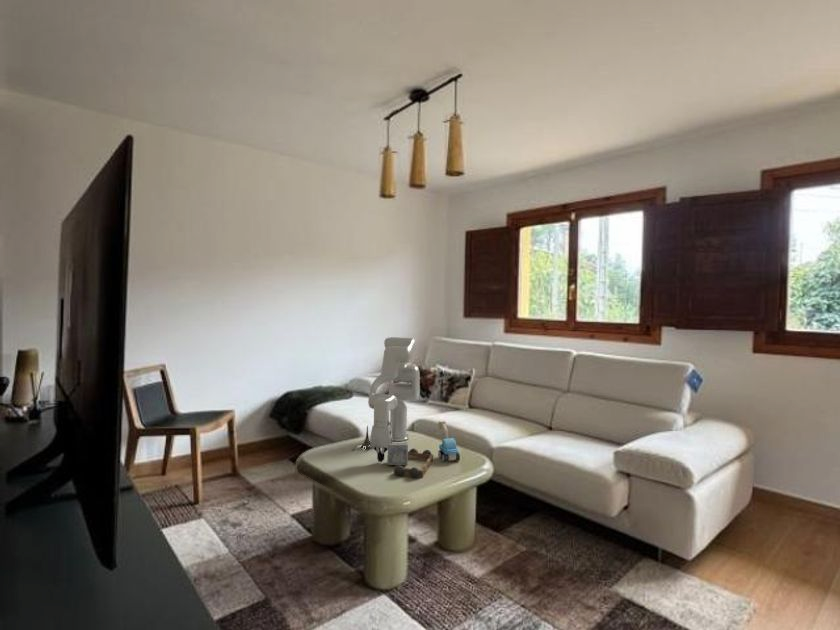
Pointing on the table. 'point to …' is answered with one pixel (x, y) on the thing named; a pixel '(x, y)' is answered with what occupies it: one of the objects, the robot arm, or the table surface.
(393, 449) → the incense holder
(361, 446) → the eiffel tower figurine
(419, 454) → the chassis bay
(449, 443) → the toy excavator
